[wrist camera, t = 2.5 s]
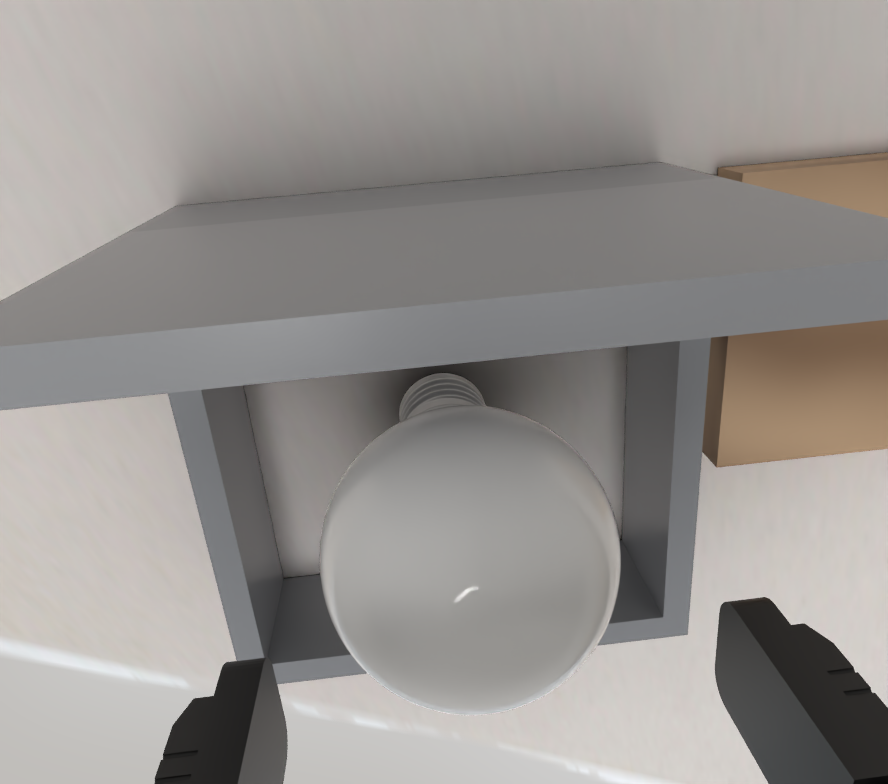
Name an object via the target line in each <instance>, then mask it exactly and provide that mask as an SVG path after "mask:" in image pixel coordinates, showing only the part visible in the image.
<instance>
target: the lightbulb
mask: <svg viewBox="0 0 888 784" xmlns="http://www.w3.org/2000/svg"><path fill="white" fill-rule="evenodd" d="M399 420H400V423H398V424H396V425H394V426H392V427H391V428H389V429H388V430H386V431H385V432H383V433H382V434H381V435H379V436H378V437H377V438H376V439H374V440H373V441H372V442H371V443H370V444H369V445H368V446H367V447H366V448H365V449H364V450H363V451H362V452H361V453H360V454H359V455H358V456H357V457H356V458H355V459H354V461H353V462H352V463H351V465H350V466H349V467H348V469H347V470H346V472H345V473H344V475H343V476H342V478H341V480H340V481H339V483H338V485H337V487H336V489H335V491H334V493H333V495H332V498H331V500H330V503H329V505H328V508H327V511H326V515H325V518H324V522H323V527H322V532H321V539H320V550H319V568H320V579H321V586H322V591H323V596H324V600H325V604H326V607H327V610H328V613H329V616H330V618H331V621H332V623H333V625H334V628H335V630H336V632H337V634H338V635H339V637H340V639H341V641H342V642H343V644H344V645H345V647H346V648H347V650H348V651H349V653H350V654H351V655H352V657H353V658H354V659H355V660H356V662H357V663H358V664H359V665H360V666H361V667H362V668H363V669H364V670H365V671H366V672H367V673H368V674H369V675H370V676H371V677H372V678H373V679H374V680H376V681H377V682H378V683H379V684H381V685H382V686H383V687H385V688H386V689H387V690H389V691H390V692H392V693H394V694H395V695H397V696H399V697H401V698H402V699H404V700H406V701H409V702H411V703H413V704H415V705H418V706H421V707H424V708H427V709H430V710H433V711H437V712H442V713H448V714H455V715H489V714H495V713H501V712H505V711H509V710H513V709H516V708H519V707H522V706H525V705H527V704H529V703H532V702H534V701H536V700H538V699H540V698H542V697H544V696H545V695H547V694H549V693H550V692H552V691H553V690H555V689H556V688H558V687H559V686H560V685H562V684H563V683H564V682H565V681H567V680H568V679H569V678H570V677H571V676H572V675H573V674H574V673H575V672H576V671H577V670H578V669H579V668H580V667H581V666H582V665H583V664H584V663H585V662H586V660H587V659H588V658H589V656H590V655H591V654H592V652H593V651H594V650H595V648H596V646H597V645H598V643H599V642H600V640H601V638H602V636H603V634H604V632H605V630H606V628H607V626H608V624H609V621H610V619H611V616H612V613H613V610H614V607H615V603H616V599H617V595H618V590H619V584H620V575H621V548H620V539H619V533H618V528H617V523H616V519H615V516H614V513H613V510H612V507H611V504H610V502H609V499H608V497H607V495H606V493H605V491H604V489H603V487H602V485H601V483H600V481H599V480H598V478H597V477H596V475H595V474H594V472H593V471H592V469H591V468H590V467H589V465H588V464H587V463H586V461H585V460H584V459H583V458H582V457H581V456H580V454H579V453H578V452H577V451H576V450H575V449H574V448H573V447H572V446H571V445H569V444H568V443H567V442H566V441H565V440H564V439H563V438H561V437H560V436H559V435H557V434H556V433H555V432H553V431H552V430H550V429H549V428H547V427H545V426H544V425H542V424H540V423H538V422H536V421H534V420H532V419H530V418H528V417H525V416H523V415H521V414H518V413H515V412H512V411H508V410H504V409H500V408H495V407H489V406H486V405H485V402H484V400H483V397H482V395H481V393H480V391H479V390H478V389H477V388H476V386H475V385H474V384H472V383H471V382H470V381H468V380H467V379H465V378H463V377H461V376H458V375H454V374H449V373H438V374H433V375H429V376H426V377H424V378H422V379H420V380H419V381H417V382H416V383H415V384H413V385H412V386H411V387H410V388H409V389H408V391H407V392H406V394H405V395H404V397H403V399H402V401H401V404H400V409H399Z"/></svg>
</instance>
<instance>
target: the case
mask: <svg viewBox="0 0 888 784" xmlns="http://www.w3.org/2000/svg"><path fill="white" fill-rule="evenodd" d="M879 320H888V218H886V217H881V216H877V215H873V214H869V213H865V212H861V211H857V210H853V209H849V208H845V207H841V206H837V205H833V204H829V203H825V202H821V201H816V200H812V199H808V198H804V197H800V196H796V195H792V194H788V193H784V192H780V191H776V190H772V189H768V188H764V187H760V186H755V185H751V184H747V183H743V182H739V181H735V180H731V179H727V178H723V177H719V176H715V175H711V174H707V173H703V172H699V171H695V170H690V169H686V168H682V167H678V166H674V165H670V164H666V163H662V162H656V163H645V164H634V165H623V166H612V167H601V168H590V169H579V170H568V171H556V172H545V173H534V174H523V175H512V176H501V177H490V178H479V179H468V180H457V181H446V182H435V183H424V184H413V185H402V186H391V187H380V188H369V189H358V190H347V191H336V192H325V193H314V194H303V195H292V196H281V197H270V198H259V199H248V200H237V201H226V202H215V203H204V204H193V205H182V206H175V207H173V208H171V209H169V210H167V211H166V212H164V213H162V214H160V215H158V216H156V217H154V218H153V219H151V220H149V221H147V222H145V223H143V224H142V225H140V226H138V227H136V228H134V229H132V230H131V231H129V232H127V233H125V234H123V235H121V236H119V237H118V238H116V239H114V240H112V241H110V242H108V243H107V244H105V245H103V246H101V247H99V248H97V249H96V250H94V251H92V252H90V253H88V254H86V255H84V256H83V257H81V258H79V259H77V260H75V261H73V262H72V263H70V264H68V265H66V266H64V267H62V268H61V269H59V270H57V271H55V272H53V273H51V274H49V275H48V276H46V277H44V278H42V279H40V280H38V281H37V282H35V283H33V284H31V285H29V286H27V287H26V288H24V289H22V290H20V291H18V292H16V293H15V294H13V295H11V296H9V297H7V298H5V299H3V300H2V301H0V410H8V409H18V408H28V407H37V406H47V405H57V404H67V403H77V402H86V401H96V400H106V399H116V398H126V397H135V396H145V395H155V394H165V393H168V395H169V399H170V403H171V407H172V411H173V415H174V419H175V422H176V426H177V430H178V434H179V438H180V442H181V446H182V450H183V454H184V457H185V461H186V465H187V469H188V473H189V477H190V481H191V485H192V489H193V492H194V496H195V500H196V504H197V508H198V512H199V516H200V520H201V524H202V527H203V531H204V535H205V539H206V543H207V547H208V551H209V555H210V559H211V562H212V566H213V570H214V574H215V578H216V582H217V586H218V590H219V594H220V597H221V601H222V605H223V609H224V613H225V617H226V621H227V625H228V629H229V633H230V636H231V640H232V644H233V648H234V652H235V656H236V660H237V661H242V660H250V659H258V658H266V657H269V658H270V660H271V662H272V665H273V669H274V673H275V678H276V682H277V684H284V683H292V682H300V681H308V680H317V679H325V678H333V677H341V676H350V675H358V674H366V673H367V672H366V671H365V670H364V669H363V668H362V667H361V666H360V665H359V664H358V663H357V662H356V660H355V659H354V658H353V657H352V655H351V654H350V653H349V651H348V650H347V648H346V647H345V645H344V644H343V642H342V641H341V639H340V637H339V635H338V634H337V632H336V630H335V628H334V625H333V623H332V621H331V618H330V616H329V613H328V610H327V607H326V604H325V600H324V596H323V591H322V586H321V579H320V575H312V576H303V577H294V578H286V579H283V574H282V569H281V565H280V560H279V555H278V550H277V546H276V541H275V536H274V531H273V526H272V522H271V517H270V512H269V507H268V503H267V498H266V493H265V488H264V483H263V479H262V474H261V469H260V464H259V460H258V455H257V450H256V445H255V440H254V436H253V431H252V426H251V421H250V417H249V412H248V407H247V402H246V397H245V393H244V388H243V385H253V384H263V383H272V382H282V381H292V380H302V379H311V378H321V377H331V376H341V375H351V374H360V373H370V372H380V371H390V370H400V369H409V368H419V367H429V366H439V365H448V364H458V363H468V362H478V361H488V360H497V359H507V358H517V357H527V356H537V355H546V354H556V353H566V352H576V351H586V350H595V349H605V348H615V347H625V346H627V379H626V414H625V449H624V483H623V518H622V540H620V548H621V575H620V584H619V590H618V595H617V599H616V603H615V607H614V610H613V613H612V616H611V619H610V621H609V624H608V626H607V628H606V630H605V632H604V634H603V636H602V638H601V640H600V642H599V643H598V645H606V644H614V643H623V642H631V641H639V640H647V639H656V638H664V637H672V636H680V635H688V622H689V610H690V597H691V584H692V572H693V559H694V546H695V533H696V521H697V508H698V495H699V483H700V470H701V457H702V445H703V432H704V419H705V407H706V394H707V381H708V369H709V356H710V343H711V338H713V337H723V336H732V335H742V334H752V333H762V332H771V331H781V330H791V329H801V328H811V327H820V326H830V325H840V324H850V323H860V322H869V321H879ZM598 645H597V646H598Z"/></svg>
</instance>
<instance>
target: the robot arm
mask: <svg viewBox="0 0 888 784" xmlns="http://www.w3.org/2000/svg"><path fill="white" fill-rule="evenodd" d="M715 676H716V682H717V686H718V690H719V693H720V696H721V699H722V701H723V703H724V705H725V707H726V709H727V711H728V713H729V714H730V716H731V718H732V720H733V721H734V723H735V725H736V727H737V728H738V730H739V732H740V734H741V735H742V737H743V739H744V741H745V743H746V744H747V746H748V748H749V750H750V751H751V753H752V755H753V757H754V758H755V760H756V762H757V764H758V765H759V767H760V769H761V771H762V772H763V774H764V776H765V778H766V779H767V781H768V783H769V784H888V708H887V707H886V706H885V704H884V703H883V702H882V701H881V700H880V698H879V697H878V696H877V695H876V694H875V693H872V692H871V688H870V686H869V685H868V684H867V683H866V682H865V680H864V679H863V678H862V677H861V676H860V674H859V673H858V672H857V673H855V671H854V667H853V666H852V665H851V664H850V662H849V661H848V660H847V659H846V658H845V656H844V655H843V654H842V653H841V652H840V651H839V649H838V648H837V647H836V646H835V645H834V643H832V642H831V641H829V640H828V639H826V638H825V637H823V636H822V635H820V634H819V633H818V632H816V631H815V630H813V629H812V628H810V627H809V626H807V625H806V624H796V625H790V623H789V622H788V621H787V619H786V618H785V617H784V616H783V614H782V613H781V612H780V610H779V609H778V608H777V607H776V605H775V604H774V603H773V602H772V601H771V600H770V599H768V598H765V597H763V598H755V599H747V600H738V601H730V602H724V603H723V604H722V605H721V608H720V613H719V625H718V637H717V649H716V661H715ZM286 760H287V729H286V721H285V716H284V712H283V708H282V703H281V699H280V695H279V691H278V686H277V682H276V678H275V673H274V669H273V665H272V662H271V660H270V658H269V657H266V658H258V659H250V660H242V661H234V662H226V663H225V664H224V665H223V667H222V670H221V673H220V676H219V680H218V683H217V687H216V690H215V694H214V696H211V697H203V698H195V699H193V700H192V702H191V703H190V704H189V706H188V707H187V708H186V709H185V711H184V712H183V713H182V714H181V716H180V717H179V718H178V719H177V721H176V722H175V723H174V725H173V726H172V730H171V732H170V735H169V738H168V741H167V744H166V747H165V750H164V753H163V760H161V762H160V765H159V768H158V771H157V774H156V776H155V784H283V781H284V773H285V767H286Z"/></svg>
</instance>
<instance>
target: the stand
mask: <svg viewBox="0 0 888 784" xmlns="http://www.w3.org/2000/svg"><path fill="white" fill-rule="evenodd" d="M718 176H719V177H723V178H727V179H731V180H735V181H739V182H743V183H747V184H751V185H755V186H760V187H764V188H768V189H772V190H776V191H780V192H784V193H788V194H792V195H796V196H800V197H804V198H808V199H812V200H816V201H821V202H825V203H829V204H833V205H837V206H841V207H845V208H849V209H853V210H857V211H861V212H865V213H869V214H873V215H877V216H881V217H886V218H888V152H885V153H874V154H863V155H852V156H841V157H830V158H819V159H808V160H798V161H787V162H776V163H765V164H754V165H743V166H732V167H721V168H718ZM879 449H888V320H879V321H869V322H860V323H850V324H840V325H830V326H820V327H811V328H801V329H791V330H781V331H771V332H762V333H752V334H742V335H732V336H723V337H713V338H711V343H710V356H709V369H708V381H707V394H706V407H705V419H704V432H703V445H702V452H703V453H704V454H705V455H706V456H707V457H708V458H709V459H710V461H711V462H712V463H713V464H714V465H715V466H716V467H725V466H734V465H743V464H752V463H761V462H770V461H779V460H788V459H798V458H807V457H816V456H825V455H834V454H843V453H852V452H861V451H870V450H879Z"/></svg>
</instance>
